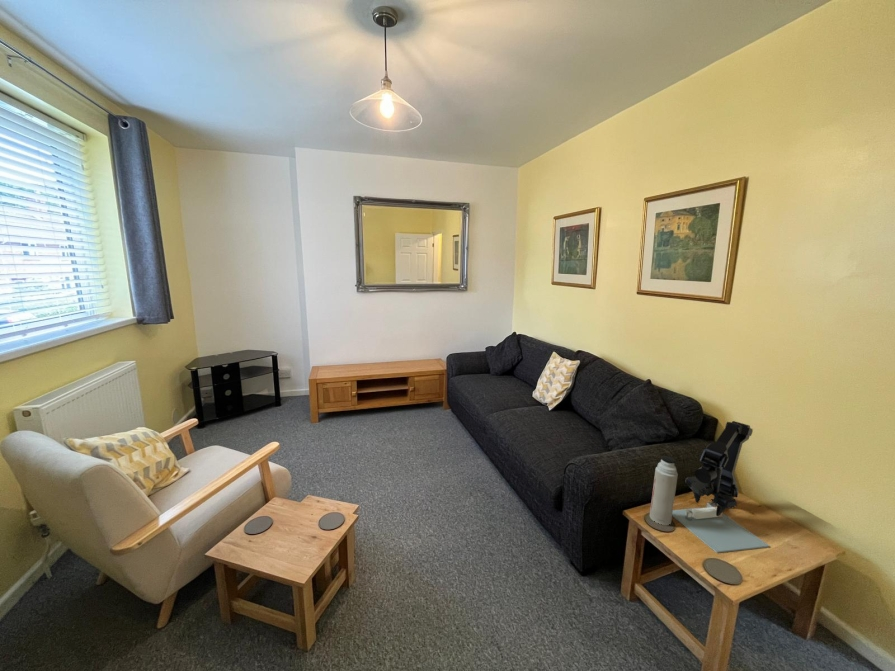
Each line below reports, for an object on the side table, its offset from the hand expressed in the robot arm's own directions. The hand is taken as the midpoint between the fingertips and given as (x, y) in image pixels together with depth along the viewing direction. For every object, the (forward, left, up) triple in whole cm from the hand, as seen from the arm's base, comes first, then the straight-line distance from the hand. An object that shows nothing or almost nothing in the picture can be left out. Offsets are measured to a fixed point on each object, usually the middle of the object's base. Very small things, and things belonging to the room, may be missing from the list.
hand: (707, 508), depth 151 cm
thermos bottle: (+22, -1, -4) cm, 22 cm away
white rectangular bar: (+1, +1, -3) cm, 3 cm away
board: (+3, +7, -4) cm, 8 cm away
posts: (+2, -1, -4) cm, 4 cm away
